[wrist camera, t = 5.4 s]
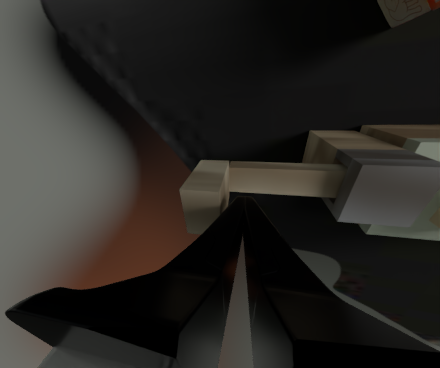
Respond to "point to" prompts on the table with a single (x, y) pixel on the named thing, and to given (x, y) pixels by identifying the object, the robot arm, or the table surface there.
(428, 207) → the plate with block handle
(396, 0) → the stack of blocks
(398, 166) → the toolbox
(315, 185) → the wooden mallet
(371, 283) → the table surface
